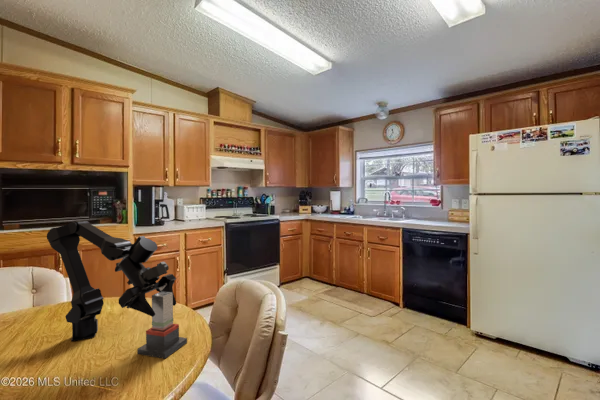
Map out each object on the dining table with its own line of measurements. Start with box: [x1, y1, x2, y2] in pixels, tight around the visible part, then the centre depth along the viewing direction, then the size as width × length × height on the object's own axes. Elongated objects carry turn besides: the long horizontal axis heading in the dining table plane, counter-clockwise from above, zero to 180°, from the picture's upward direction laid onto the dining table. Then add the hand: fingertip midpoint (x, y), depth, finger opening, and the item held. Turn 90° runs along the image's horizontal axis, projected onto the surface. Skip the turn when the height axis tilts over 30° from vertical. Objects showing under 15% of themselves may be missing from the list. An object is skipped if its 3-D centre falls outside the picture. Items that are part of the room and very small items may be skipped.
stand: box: [136, 323, 188, 359], centre depth 94 cm, size 10×10×6 cm
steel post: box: [151, 291, 174, 332], centre depth 94 cm, size 4×4×12 cm
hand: (165, 309), depth 93 cm, fingers open, 9 cm apart
